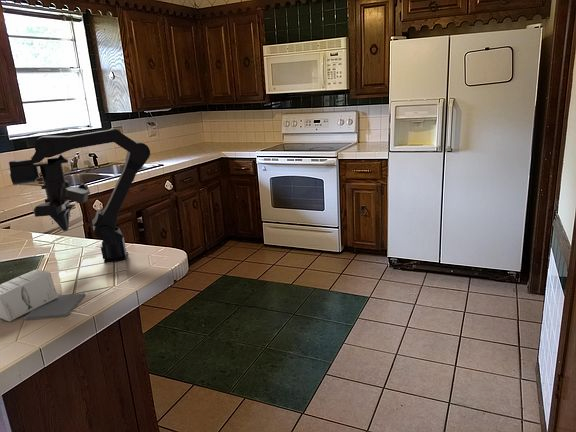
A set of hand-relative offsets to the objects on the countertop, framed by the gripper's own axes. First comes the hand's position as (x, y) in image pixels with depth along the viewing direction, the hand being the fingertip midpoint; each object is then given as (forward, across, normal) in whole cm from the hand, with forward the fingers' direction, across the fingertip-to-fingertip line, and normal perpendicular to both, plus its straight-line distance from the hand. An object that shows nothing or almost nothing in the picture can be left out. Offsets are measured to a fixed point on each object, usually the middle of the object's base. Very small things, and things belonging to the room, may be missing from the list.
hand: (65, 230), depth 133 cm
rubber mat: (+12, -27, -7) cm, 30 cm away
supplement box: (+8, -21, -3) cm, 22 cm away
